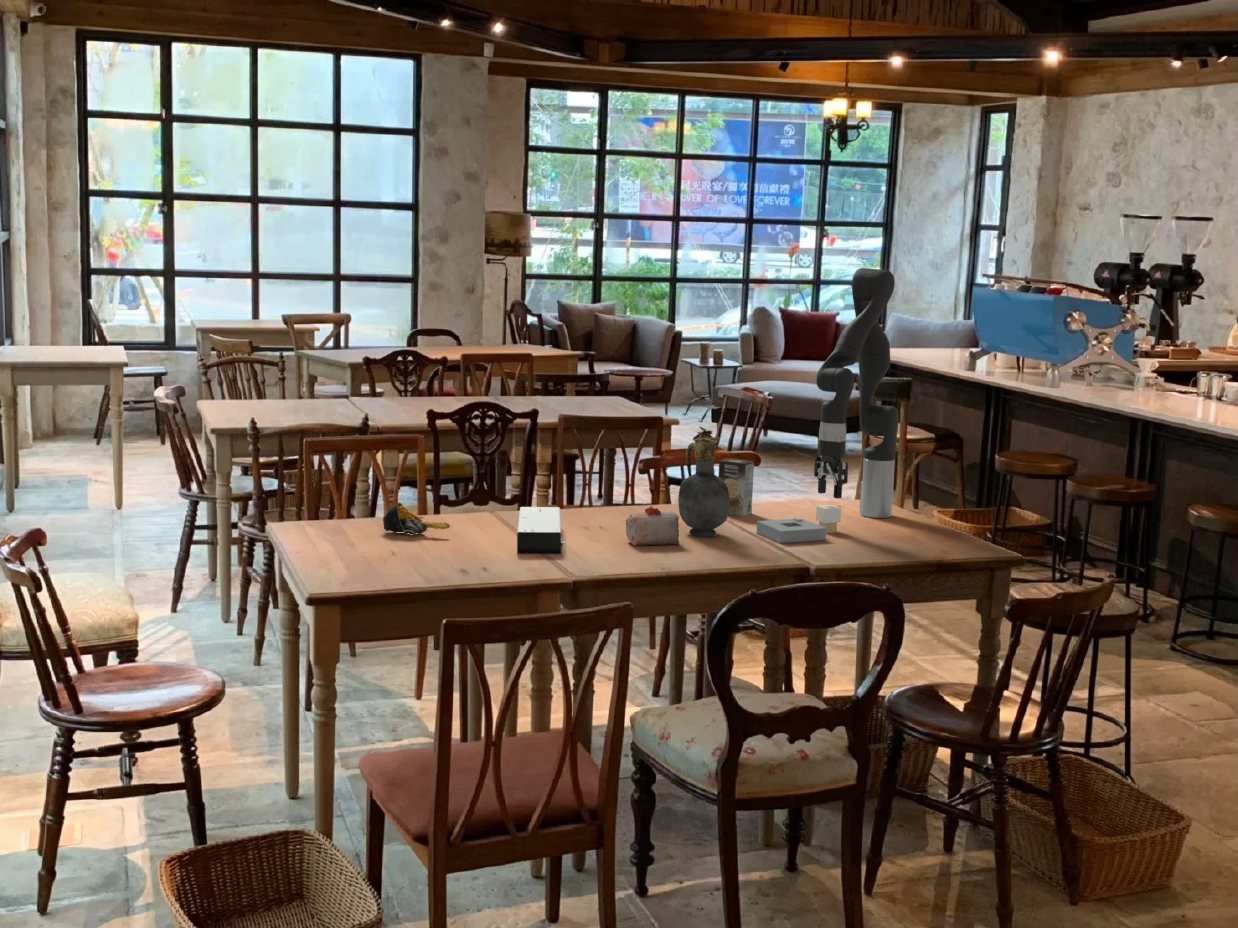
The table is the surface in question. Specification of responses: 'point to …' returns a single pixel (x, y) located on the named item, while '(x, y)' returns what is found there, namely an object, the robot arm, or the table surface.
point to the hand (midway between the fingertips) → (829, 495)
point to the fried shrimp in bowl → (408, 521)
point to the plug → (828, 517)
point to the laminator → (539, 530)
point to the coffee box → (738, 484)
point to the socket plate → (791, 531)
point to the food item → (653, 528)
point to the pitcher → (703, 489)
